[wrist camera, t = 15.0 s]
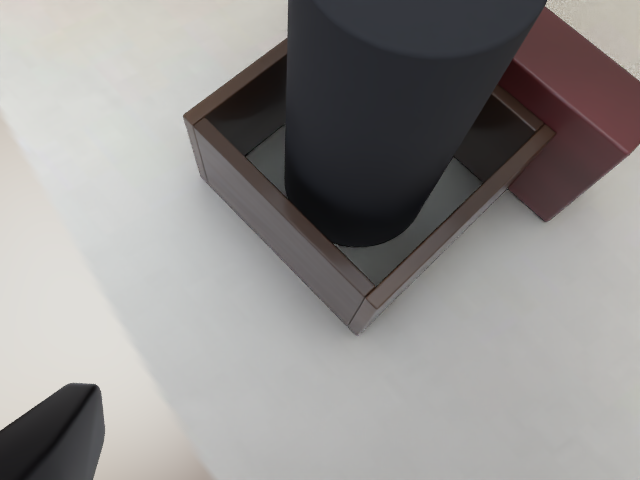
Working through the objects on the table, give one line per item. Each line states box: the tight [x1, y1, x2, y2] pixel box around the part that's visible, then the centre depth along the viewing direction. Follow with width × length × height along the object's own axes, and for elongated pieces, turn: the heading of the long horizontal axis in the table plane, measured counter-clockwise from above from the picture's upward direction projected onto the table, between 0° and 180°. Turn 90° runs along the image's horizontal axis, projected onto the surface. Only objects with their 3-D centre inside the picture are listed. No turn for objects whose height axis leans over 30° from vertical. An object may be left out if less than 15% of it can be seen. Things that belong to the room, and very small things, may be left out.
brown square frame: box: [183, 7, 640, 336], centre depth 16 cm, size 9×10×4 cm
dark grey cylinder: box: [284, 0, 547, 247], centre depth 14 cm, size 4×4×9 cm
